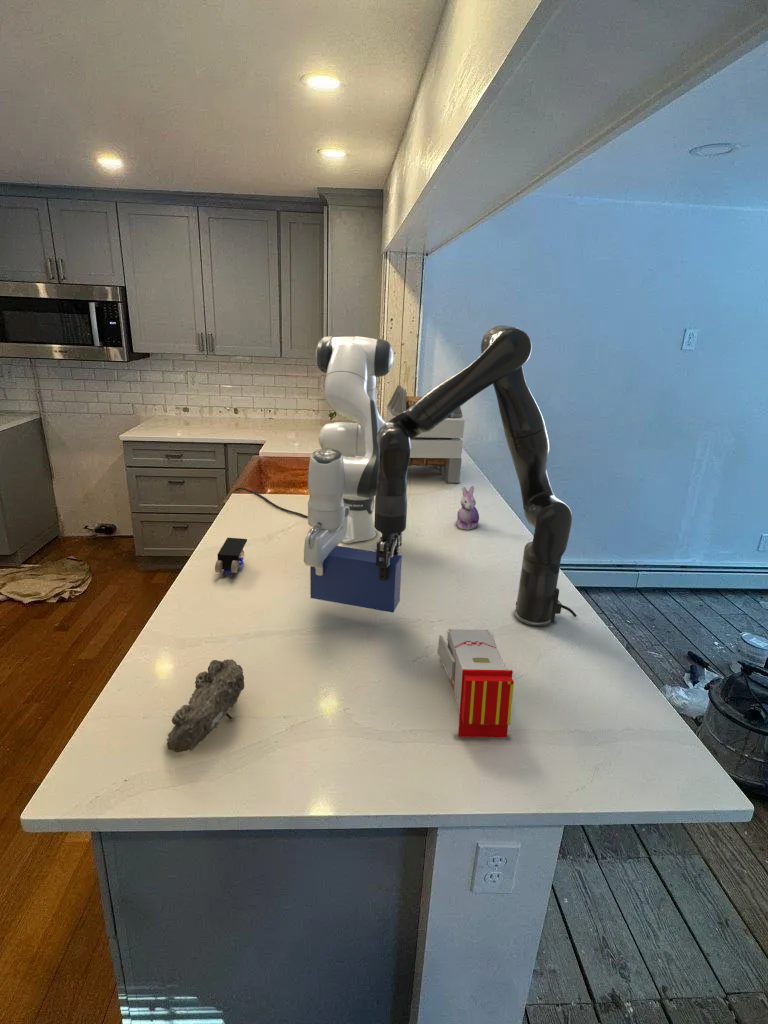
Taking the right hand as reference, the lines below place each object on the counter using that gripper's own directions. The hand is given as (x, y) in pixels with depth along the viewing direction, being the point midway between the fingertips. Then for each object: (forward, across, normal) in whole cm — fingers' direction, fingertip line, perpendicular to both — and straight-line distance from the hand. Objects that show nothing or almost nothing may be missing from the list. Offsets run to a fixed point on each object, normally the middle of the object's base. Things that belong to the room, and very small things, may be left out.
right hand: (388, 572), depth 138 cm
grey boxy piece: (+15, +139, +23) cm, 142 cm away
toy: (+14, -20, -24) cm, 35 cm away
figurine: (+15, +77, -9) cm, 79 cm away
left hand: (+1, 0, +16) cm, 16 cm away
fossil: (+14, -44, +22) cm, 51 cm away
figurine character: (+14, +13, +51) cm, 55 cm away
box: (+9, 0, +8) cm, 12 cm away
